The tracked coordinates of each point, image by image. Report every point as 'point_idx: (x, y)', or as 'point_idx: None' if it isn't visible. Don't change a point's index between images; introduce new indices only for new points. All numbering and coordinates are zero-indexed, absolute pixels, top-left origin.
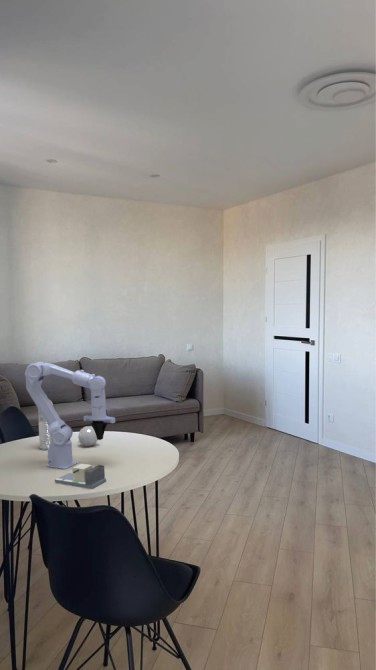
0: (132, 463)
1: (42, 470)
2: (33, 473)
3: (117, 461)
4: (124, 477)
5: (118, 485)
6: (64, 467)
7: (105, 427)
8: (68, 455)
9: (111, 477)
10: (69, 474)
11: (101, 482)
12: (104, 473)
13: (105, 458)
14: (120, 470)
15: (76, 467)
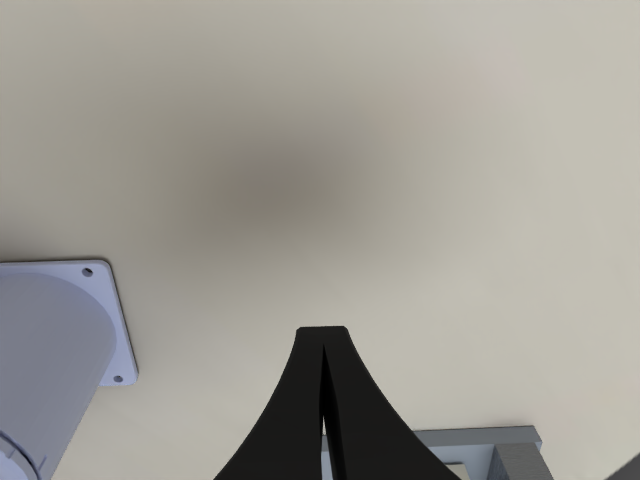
0: (573, 67)
1: None
2: None
3: (399, 68)
4: (620, 348)
5: (627, 439)
6: (124, 376)
7: (431, 462)
8: (85, 400)
9: (536, 373)
10: None
11: None
12: (547, 467)
13: (218, 25)
14: (539, 257)
15: None
